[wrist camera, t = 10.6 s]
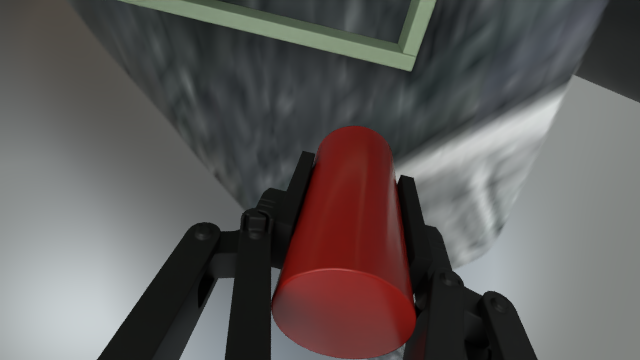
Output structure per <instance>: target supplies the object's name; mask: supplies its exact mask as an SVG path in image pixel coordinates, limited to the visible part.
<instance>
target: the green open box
mask: <svg viewBox="0 0 640 360" xmlns="http://www.w3.org/2000/svg"><path fill="white" fill-rule="evenodd" d="M119 1H123V2H127V3H131V4H135V5H139V6H143V7H147V8H152V9H156V10H160V11H164V12H168V13H172V14H176V15H180V16H184V17H189V18H193V19H197V20H201V21H205V22H209V23H213V24H217V25H221V26H226V27H230V28H234V29H238V30H242V31H246V32H250V33H254V34H258V35H263V36H267V37H271V38H275V39H279V40H283V41H287V42H291V43H296V44H300V45H304V46H308V47H312V48H316V49H320V50H324V51H328V52H333V53H337V54H341V55H345V56H349V57H353V58H357V59H361V60H365V61H370V62H374V63H378V64H382V65H386V66H390V67H394V68H398V69H402V70H407V71H412V68H413V65H414V63H415V60H416V56H417V54H418V51H419V48H420V45H421V43H422V40H423V37H424V34H425V31H426V29H427V26H428V23H429V20H430V17H431V15H432V12H433V9H434V6H435V3H436V0H411V3H410V6H409V10H408V13H407V16H406V19H405V22H404V25H403V29H402V32H401V35H400V38H399V41H398V44H395V43H391V42H387V41H383V40H379V39H375V38H370V37H366V36H362V35H358V34H354V33H350V32H346V31H342V30H337V29H333V28H329V27H325V26H321V25H317V24H313V23H309V22H304V21H300V20H296V19H292V18H288V17H284V16H280V15H276V14H271V13H267V12H263V11H259V10H255V9H251V8H247V7H243V6H238V5H234V4H230V3H226V2H222V1H218V0H119Z"/></svg>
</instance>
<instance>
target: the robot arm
mask: <svg viewBox="0 0 640 360" xmlns="http://www.w3.org/2000/svg"><path fill="white" fill-rule="evenodd" d="M314 157H315V154H314V153H310V152H305V151H303V152H302V154H301V157H300V159H299V162H298V164H297V167H296V169H295V172H294V174H293V177H292V179H291V182H290V184H289V187H288V189H287V192H286V191H282V190H278V189H274V188H269V189H268V190H266V191H265V192H264V193H263V195H262V196H261V198H260V200H259V202H258V205H257V206H256V208H252V209H249V210H246V211H245V212H244V213H243V214H242V216H241V226H240V230H236V231H226V232H225V231H222V232H221V231H220V229H219V227H218V226H217V225H215V224H212V223H207V222H203V223H197V224H195V225H193V226H192V227H191V228H190V229H189V230H188V231H187V232H186V234H185V235H184V236H183V238H182V239H181V241H180V242H179V244H178V245H177V247H176V248H175V249H174V251H173V252H172V254H171V255H170V256H169V258H168V259H167V261H166V262H165V264H164V265H163V266H162V268H161V269H160V271H159V272H158V274H157V275H156V277H155V278H154V279H153V281H152V282H151V283H150V285H149V286H148V288H147V289H146V291H145V292H144V293H143V295H142V296H141V298H140V299H139V301H138V302H137V303H136V305H135V306H134V308H133V309H132V311H131V312H130V314H129V315H128V316H127V318H126V319H125V321H124V322H123V323H122V325H121V326H120V328H119V329H118V331H117V332H116V333H115V335H114V336H113V338H112V339H111V340H110V342H109V343H108V345H107V346H106V348H105V349H104V351H103V352H102V353H101V355H100V356H99V358H98V359H97V360H179V359H180V357H181V355H182V353H183V351H184V349H185V347H186V344H187V342H188V340H189V338H190V336H191V334H192V332H193V330H194V328H195V326H196V324H197V321H198V319H199V317H200V315H201V313H202V311H203V309H204V307H205V305H206V303H207V301H208V298H209V297H210V295H211V292H212V290H213V288H214V286H215V284H216V282H217V280H218V278H235V279H234V286H233V295H232V303H231V312H230V320H229V328H228V336H227V345H226V353H225V360H271V267H274V268H278V269H281V268H282V264H283V261H284V258H285V255H286V251H287V248H288V245H289V242H290V239H291V235H292V232H293V229H294V226H295V222H296V219H297V216H298V213H299V209H300V206H301V203H302V200H303V196H304V193H305V190H306V187H307V184H308V180H309V177H310V174H311V171H312V167H313V162H314ZM397 189H398V196H399V203H400V210H401V217H402V223H403V230H404V237H405V244H406V251H407V257H408V264H409V271H410V278H411V285H412V291H413V295H414V293H415V300H416V302H415V304H414V305H415V312H416V326H415V329H414V332H413V334H412V336H411V337H410V338H409V340H408V341H407V342H406V345H405V350H404V356H403V360H538V359H537V357H536V355H535V353H534V350H533V348H532V346H531V344H530V341H529V339H528V337H527V334H526V332H525V330H524V327H523V325H522V323H521V320H520V318H519V316H518V314H517V311H516V309H515V307H514V306H513V304H512V303H511V302H510V301H509V300H508V299H507V298H506V297H504V296H503V295H501V294H499V293H497V292H495V291H488V292H485V293H484V295H483V296H482V295H479V294H478V293H476V292H474V291H472V290H470V289H468V288H466V287H465V286H464V283H463V281H462V279H461V278H460V276H458V275H457V274H456V273H455V272H454V271H452V268H451V265H450V261H449V258H448V254H447V251H446V248H445V244H444V241H443V238H442V235H441V233H440V232H439V231H438V230H437V228H436V227H432V226H428V225H425V224H424V219H423V215H422V211H421V207H420V203H419V198H418V194H417V190H416V186H415V182H414V178H412V177H408V176H404V175H401V176H400V179H399V181H398V183H397Z"/></svg>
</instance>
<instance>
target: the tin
mask: <svg viewBox="0 0 640 360" xmlns="http://www.w3.org/2000/svg"><path fill="white" fill-rule="evenodd" d="M271 311H272V315H273V318H274V321H275V322H276V324H277V326H278V327H279V329H280V330H281V331H282V332H283V333H284V334H285V335H286V336H287V337H288V338H290V339H291V340H292V341H294V342H295V343H297V344H298V345H300V346H302V347H304V348H306V349H308V350H310V351H313V352H316V353H319V354H322V355H326V356H331V357H335V358H343V359H344V358H345V359H366V358H373V357H378V356H382V355H385V354H388V353H390V352H392V351H394V350H396V349H398V348H399V347H401V346H402V345H404V344H405V343H406V342H407V341H408V340H409V338H410V337H411V336H412V334H413V332H414V329H415V326H416V312H415V305H414V298H413V291H412V285H411V278H410V271H409V264H408V257H407V251H406V244H405V237H404V230H403V223H402V217H401V210H400V203H399V196H398V189H397V183H396V176H395V169H394V162H393V156H392V151H391V148H390V146H389V144H388V143H387V141H386V140H385V139H384V138H383V137H382V136H381V135H380V134H378V133H377V132H375V131H373V130H371V129H369V128H366V127H361V126H347V127H343V128H340V129H337V130H335V131H333V132H332V133H330V134H329V135H328V136H327V137H325V139H324V140H323V141H322V143H321V144H320V146H319V148H318V151H317V154H316V158H315V161H314V164H313V167H312V171H311V174H310V177H309V180H308V184H307V187H306V190H305V193H304V196H303V200H302V203H301V206H300V209H299V213H298V216H297V219H296V222H295V226H294V229H293V232H292V235H291V239H290V242H289V245H288V248H287V251H286V255H285V258H284V261H283V264H282V268H281V271H280V274H279V277H278V281H277V284H276V287H275V290H274V294H273V297H272V300H271Z"/></svg>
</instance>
